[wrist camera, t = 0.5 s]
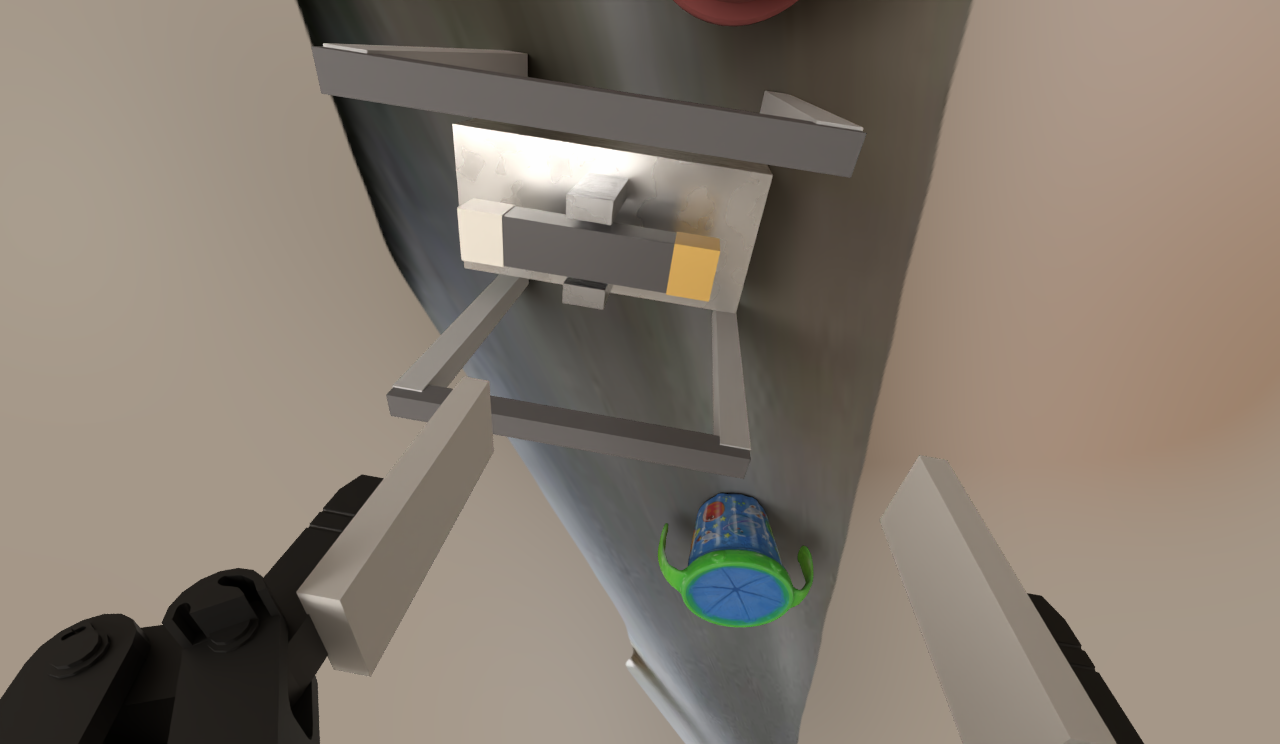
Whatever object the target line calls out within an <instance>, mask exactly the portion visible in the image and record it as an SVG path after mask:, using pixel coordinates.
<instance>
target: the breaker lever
mask: <svg viewBox="0 0 1280 744" xmlns="http://www.w3.org/2000/svg"><path fill="white" fill-rule="evenodd" d="M457 212H458V223H459V235H460V246H461V258H462V260H464V261H470V262H475V263H481V264H487V265H493V266H499V267H504V266H506V267H512V268H518V269H524V270H530V271H536V272H542V273H548V274H554V275H560V276H566V277H572V278H578V279H584V280H590V281H596V282H602V283H607V284H613V285H619V286H625V287H631V288H637V289H643V290H649V291H655V292H661V293H666V295H671V296H677V297H683V298H689V299H695V300H701V301H707V302H709V299H710V295H711V290H712V286H713V281H714V277H715V273H716V268H717V264H718V260H719V255H720V239H719V238H713V237H707V236H701V235H695V234H689V233H683V232H677V233H676V232H670V231H664V230H657V229H651V228H645V227H639V226H633V225H627V224H621V223H615V222H613V223H612V225H607V224H601V223H595V222H589V221H583V220H577V219H570V218H566V214H560V213H554V212H548V211H542V210H536V209H530V208H524V207H518V206H515V205H513V204H506V203H500V202H494V201H488V200H482V199H476V198H473V199H471V200H469V201H468V202H466V203H464V204H463V205H461V206H459V207H458V208H457Z"/></svg>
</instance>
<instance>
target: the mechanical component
mask: <svg viewBox="0 0 1280 744" xmlns="http://www.w3.org/2000/svg"><path fill="white" fill-rule="evenodd" d="M673 1H674V2H675V3H676V4H678V5H679V6H680V7H681V8H682V9H683V10H685V11H686V12H688V13H689V14H691V15H693V16H694V17H696V18H698V19H701V20H703V21H705V22H708V23H712V24H717V25H721V26H742V25H750V24H754V23H757V22H760V21H764V20H766V19H768V18H770V17H773V16H775V15H777V14H779V13H781V12H782V11H784V10H785V9H787V8H789V7H790V6H792V5H793V4H794V3H795V2H797V1H798V0H673Z"/></svg>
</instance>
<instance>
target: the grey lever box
mask: <svg viewBox="0 0 1280 744" xmlns="http://www.w3.org/2000/svg"><path fill="white" fill-rule="evenodd" d="M452 125H453V137H454V149H455V161H456V173H457V185H458V196H459V206H461V205H463V204H464V203H466V202H468V201H469V200H471V199H473V198H476V199H482V200H488V201H494V202H500V203H506V204H513V205H515V206H518V207H524V208H530V209H536V210H542V211H548V212H554V213H560V214H566V218H570V219H577V220H583V221H589V222H595V223H601V224H607V225H612V223H613V222H615V223H621V224H627V225H633V226H639V227H645V228H651V229H657V230H664V231H670V232H676V233H677V232H683V233H689V234H695V235H701V236H707V237H713V238H719V239H720V255H719V260H718V264H717V268H716V273H715V277H714V281H713V286H712V290H711V295H710V299H709V302H707V301H701V300H695V299H689V298H683V297H677V296H671V295H666V293H661V292H655V291H649V290H643V289H637V288H631V287H625V286H619V285H613V284H607V283H602V282H596V281H590V280H584V279H578V278H572V277H566V276H560V275H554V274H548V273H542V272H536V271H530V270H524V269H518V268H512V267H506V266H504V267H499V266H493V265H487V264H481V263H475V262H470V261H464V268H468V269H474V270H480V271H486V272H491V273H497V274H503V275H509V276H515V277H521V278H527V279H533V280H539V281H545V282H551V283H557V284H563V300H562V303H567V304H572V305H578V306H584V307H590V308H596V309H602V310H603V309H604V307H605V305H606V302H607V300H608V297H609V295H610V293H616V294H622V295H628V296H634V297H640V298H646V299H651V300H657V301H663V302H669V303H675V304H681V305H687V306H693V307H699V308H705V309H711V310H717V311H723V312H728V313H734V314H736V311H737V307H738V304H739V300H740V296H741V292H742V289H743V285H744V281H745V278H746V274H747V270H748V266H749V263H750V259H751V255H752V251H753V248H754V244H755V240H756V236H757V233H758V229H759V225H760V221H761V218H762V214H763V210H764V207H765V203H766V199H767V195H768V192H769V188H770V184H771V180H772V177H773V175H772V173H771V171H770V169H769V167H768V165H767V164H761V163H755V162H748V161H742V160H736V159H730V158H723V157H717V156H711V155H704V154H698V153H692V152H686V151H679V150H673V149H667V148H661V147H654V146H648V145H642V144H635V143H629V142H623V141H617V140H610V139H604V138H598V137H592V136H585V135H579V134H573V133H566V132H560V131H554V130H548V129H541V128H535V127H529V126H523V125H516V124H510V123H504V122H497V121H491V120H485V119H479V118H473V119H470V120H466V121H462V122H458V123H454V124H452Z"/></svg>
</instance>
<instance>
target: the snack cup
mask: <svg viewBox="0 0 1280 744" xmlns="http://www.w3.org/2000/svg"><path fill="white" fill-rule="evenodd" d="M667 532H668V524H667V523H666V524H665V525H664V528H663V531H662V534H661V538H660V543H659V547H658V560H659V565H660V568H661V571H662V573H663V575H664V577H665V578H666V580H667V581H668V582H669V583H670V584H671V586H673V587H674V588H675V589H676V590H678V591H679V592H680V593H681V595H682V598H683V601H684V603H685V604H686V606H687V607H688V608H689V609H690V610H691V611H692V612H693V613H694V614H695V615H697V616H698V617H700V618H702V619H704V620H706V621H708V622H711V623H714V624H718V625H722V626H728V627H752V626H759V625H763V624H767V623H769V622H772V621H774V620H776V619H778V618H780V617H781V616H782V615H784V614H785V613H786V612H787V611H788V610H789V609H790V608H792V607H795V606H796V605H799V604H800V602H801V601H802V600H803V599H804V598H805V597H806V595H807V594H808V592H809V590H810V588H811V585H812V581H813V561H812V557H811V553H810V551H809V549H808V548H807V547H806V546H802V547H801V548H800V550H799V553H798V562H799V563H800V566H801V569H802V572H803V575H804V578H805V581H806V584H805V586H804V587H803V588H802V589H801V590H798V589H795V588H794V587H793V585H792V582H791V579H790V576H789V575H788V572H787V571H786V570H785V568H784V567H783V565H782V562H781V558H780V554H779V551H778V548H777V546H776V542H775V539H774V536H773V533H772V529H771V527H770V524H769V521H768V518H767V515H766V513H765V511H764V509H763V507H762V506H761V505H759V503H758V502H757V500H755V499H754V498H752V497H747V496H744V495H742V494H724V493H723V494H717V495H716V496H715V497H713V498H711V499H709V500H708V501H707V502H705V503H704V504H703V505H702V506H701V508H700V509H699V512H698V515H697V520H696V525H695V529H694V534H693V539H692V544H691V550H690V555H689V561H688V567H687V568H686V569H684V570H678V569H676V568H674V567H673V566H671V565H669V564H668V561H667V557H666V554H665V545H666V536H667Z"/></svg>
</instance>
